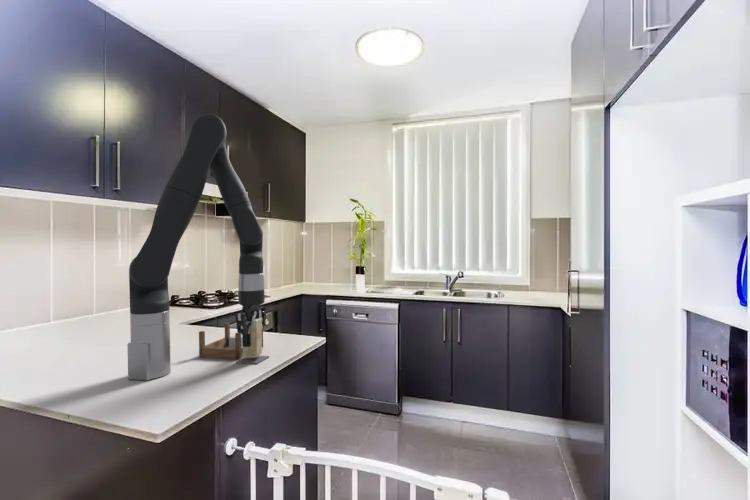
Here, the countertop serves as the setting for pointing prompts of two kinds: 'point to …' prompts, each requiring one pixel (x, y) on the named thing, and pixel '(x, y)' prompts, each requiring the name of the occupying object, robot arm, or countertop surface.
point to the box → (254, 340)
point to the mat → (252, 360)
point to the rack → (221, 346)
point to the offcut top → (232, 341)
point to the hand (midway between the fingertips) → (252, 343)
